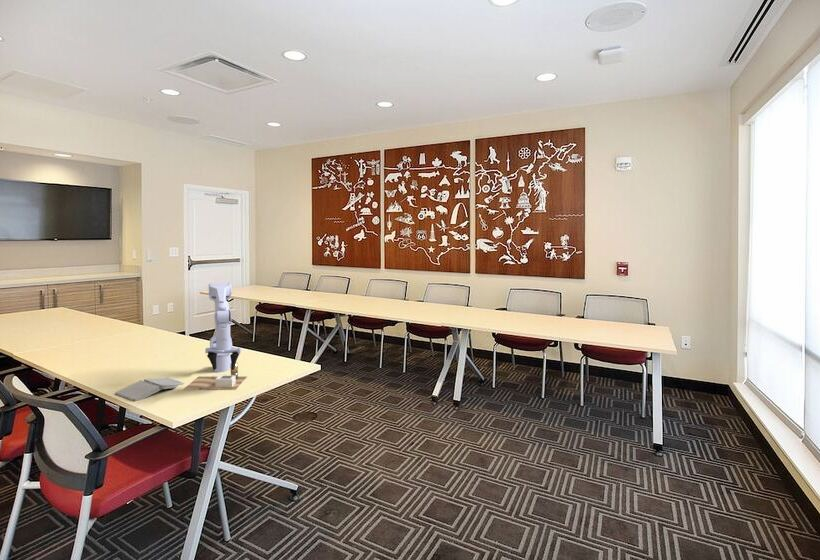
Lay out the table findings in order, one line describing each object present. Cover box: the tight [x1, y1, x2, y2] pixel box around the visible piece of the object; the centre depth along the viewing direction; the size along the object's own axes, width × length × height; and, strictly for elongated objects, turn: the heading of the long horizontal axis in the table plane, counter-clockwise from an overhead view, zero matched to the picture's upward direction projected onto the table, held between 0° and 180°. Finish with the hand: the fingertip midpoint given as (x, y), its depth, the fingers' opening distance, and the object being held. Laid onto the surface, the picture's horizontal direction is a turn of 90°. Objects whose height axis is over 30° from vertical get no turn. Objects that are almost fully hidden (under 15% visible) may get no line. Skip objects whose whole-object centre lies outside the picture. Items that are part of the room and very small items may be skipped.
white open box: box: [215, 375, 236, 387], centre depth 197 cm, size 5×7×4 cm
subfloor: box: [182, 375, 248, 391], centre depth 200 cm, size 18×22×1 cm
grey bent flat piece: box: [114, 376, 186, 402], centre depth 193 cm, size 23×15×4 cm, turn 149°
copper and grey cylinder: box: [230, 362, 239, 379], centre depth 206 cm, size 3×3×7 cm
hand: (223, 369), depth 193 cm, fingers open, 7 cm apart
